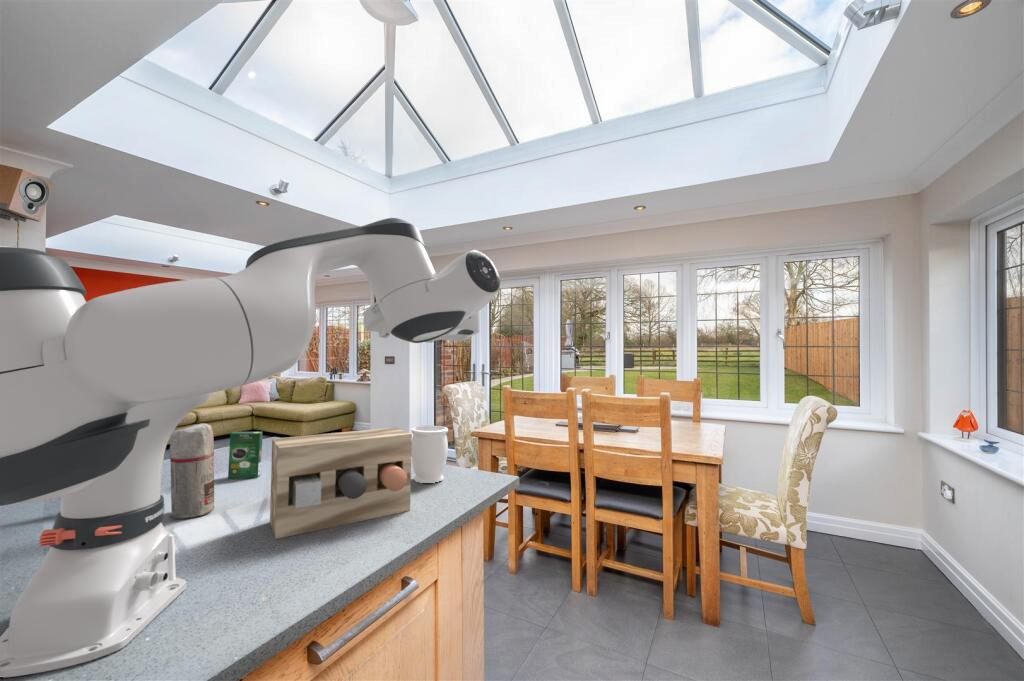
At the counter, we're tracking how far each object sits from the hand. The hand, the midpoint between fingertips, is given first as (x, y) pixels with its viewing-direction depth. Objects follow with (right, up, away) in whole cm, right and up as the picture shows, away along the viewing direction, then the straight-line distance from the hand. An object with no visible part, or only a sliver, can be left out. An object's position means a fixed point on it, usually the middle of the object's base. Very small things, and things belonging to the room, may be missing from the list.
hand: (405, 336), depth 86 cm
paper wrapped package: (-51, -40, +12) cm, 66 cm away
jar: (-3, -42, +39) cm, 57 cm away
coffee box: (-56, -41, +39) cm, 79 cm away
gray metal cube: (-21, -34, +1) cm, 39 cm away
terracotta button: (-6, -34, +12) cm, 37 cm away
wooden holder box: (-17, -41, +12) cm, 46 cm away
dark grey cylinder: (-13, -34, +7) cm, 37 cm away
